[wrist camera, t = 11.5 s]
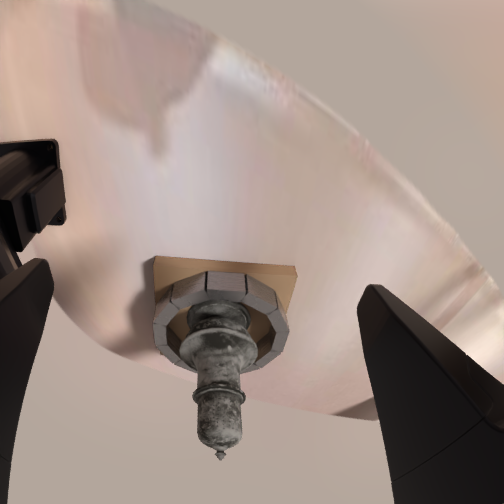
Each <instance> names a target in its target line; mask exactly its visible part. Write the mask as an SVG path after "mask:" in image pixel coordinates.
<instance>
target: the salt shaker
mask: <svg viewBox="0 0 504 504" xmlns="http://www.w3.org/2000/svg"><path fill="white" fill-rule="evenodd" d="M250 322H251V317H250V313H249V311H248V310H247V308H246V307H245V306H244V305H243V304H241V303H240V302H230V301H215V300H207V301H204V302H201V303H198V304H195V305H193V306H192V307H191V308H190V309H189V311H188V314H187V324H188V326H189V328H190V331H189V332H188V334H187V335H186V338H185V339H184V340H183V342H182V343H181V346H180V349H179V351H180V357H181V358H182V360H183V362H184V363H185V364H186V365H188V366H189V367H190V368H192V369H194V370H195V371H197V372H198V382H197V389H196V390H195V391H194V392H193V395H192V396H193V400H194V401H195V403H197V404H198V425H197V427H198V428H197V433H198V437H199V439H200V441H201V442H202V443H203V444H205V445H207V446H208V447H211V448H213V449H215V450H217V453H216V454H215V455H216V456H217V458H219V460H222V459H223V458H224V456H225V455H226V454H225V453H224V450H226V449H228V448H231V447H233V446H234V445H236V444H238V443H239V441H240V440H241V438H242V422H241V407H240V405H241V404H242V403H244V401H245V399H246V395H245V393H244V392H243V391H242V390H241V388H240V372H241V371H243V370H245V369H247V368H248V367H250V366H251V365H252V364H253V363H254V362H255V360H256V358H257V355H258V349H257V345H256V343H255V342H254V341H253V340H252V338H251V336H250V334H249V333H248V331H247V330H248V328H249V326H250Z"/></svg>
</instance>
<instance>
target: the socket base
mask: <svg viewBox="0 0 504 504" xmlns="http://www.w3.org/2000/svg"><path fill="white" fill-rule="evenodd" d="M153 271H154V288H155V302H156V310H155V314H154V319H153V332H154V340H155V345H156V347H157V348H158V349H159V350H160V354H162V355H165V356H166V357H167V358H168V359H169V360H170V361H171V362H172V363H174V365H177V366H179V367H182V368H184V369H187V370H190V371H192V372H195V373H197V374H198V372H197V371H195V370H194V369H192V368H190V367H189V366H188V365H186V364H185V363H184V362H183V360H182V358H181V357H180V351H179V349H180V346H181V343H182V342H183V340H184V339H185V338H186V335H187V334H188V332H189V331H190V328H189V326H188V324H187V314H188V311H189V309H190V308H191V307H192V306H193V305H195V304H198V303H201V302H204V301H207V300H215V301H230V302H240V303H241V304H243V305H244V306H245V307H246V308H247V310H248V311H249V313H250V317H251V322H250V326H249V328H248V330H247V331H248V333H249V334H250V336H251V338H252V340H253V341H254V342H255V343H256V345H257V349H258V355H257V358H256V360H255V362H254V363H253V364H252V365H251V366H250V367H248V368H247V369H245V370H243V371H241V372H240V374H243V373H246V372H250V371H254V370H257V369H260V368H262V367H264V366H265V365H266V364H268V363H269V362H270V361H272V360H273V359H274V358H276V357H277V356H278V355H280V354H281V352H282V351H283V349H284V346H285V343H286V340H287V337H288V334H289V326H288V321H287V316H286V313H287V310H288V306H289V303H290V300H291V297H292V293H293V290H294V287H295V283H296V280H297V272H296V269H295V266H283V265H269V264H255V263H242V262H228V261H215V260H202V259H189V258H177V257H164V256H156V257H155V261H154V265H153Z"/></svg>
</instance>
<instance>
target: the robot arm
mask: <svg viewBox="0 0 504 504" xmlns="http://www.w3.org/2000/svg"><path fill="white" fill-rule="evenodd" d="M50 144H51V145H52V146H53V149H51V148H50ZM65 202H66V200H65V192H64V184H63V174H62V170H61V168H60V159H59V145H58V142H57V141H56V140H55V139H38V140H24V141H12V142H1V143H0V504H7V499H8V488H9V478H10V470H11V461H12V454H13V448H14V442H15V437H16V431H17V426H18V421H19V416H20V412H21V408H22V403H23V399H24V395H25V391H26V387H27V384H28V380H29V376H30V373H31V369H32V366H33V363H34V359H35V356H36V353H37V350H38V346H39V343H40V340H41V337H42V334H43V330H44V326H45V322H46V317H47V313H48V310H49V306H50V302H51V298H52V295H53V291H54V281H53V277H52V274H51V270H50V267H49V263H48V261H47V260H45V259H40V258H34V259H32V260H30V261H29V262H27V263H25V264H24V265H22V263H21V261H20V259H19V257H18V255H17V253H16V252H22V251H23V250H24V248H25V247H26V246H27V244H28V243H29V242H30V241H31V240H32V238H33V237H34V236H35V235H36V233H38V234H39V233H41V232H42V230H43V229H44V228H45V227H46V225H63V224H64V223H65V221H66V211H65ZM58 217H60V218H61V219H62V220H60V219H59V218H58ZM357 316H358V322H359V328H360V334H361V340H362V347H363V353H364V358H365V362H366V366H367V370H368V374H369V378H370V382H371V386H372V391H373V395H374V399H375V403H376V408H377V412H378V417H379V421H380V426H381V431H382V435H383V440H384V445H385V450H386V456H387V461H388V466H389V472H390V477H391V482H392V483H391V484H392V491H393V497H394V504H504V385H503V384H502V383H501V382H500V381H498V380H497V379H496V378H494V377H493V376H492V375H491V374H489V373H488V372H487V371H486V370H484V369H483V368H482V367H481V366H480V365H479V364H477V363H476V362H475V361H474V360H473V359H472V358H470V357H469V356H468V355H466V353H465V352H463V351H462V350H461V349H460V348H459V347H457V346H456V345H455V344H454V343H453V342H452V341H450V340H449V339H448V338H447V337H446V336H444V335H443V334H442V333H441V332H440V331H438V330H437V329H436V328H435V327H434V326H432V325H431V324H430V323H429V322H427V321H426V320H425V319H424V318H423V317H421V316H420V315H419V314H418V313H416V312H415V311H414V310H413V309H411V308H410V307H409V306H408V305H406V304H405V303H404V302H403V301H401V300H400V299H399V298H398V297H396V296H395V295H394V294H392V293H391V292H390V291H389V290H387V289H386V288H385V287H384V286H382V285H378V284H370V285H368V286H367V287H366V288H365V291H364V293H363V295H362V297H361V299H360V301H359V303H358V306H357Z"/></svg>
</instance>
